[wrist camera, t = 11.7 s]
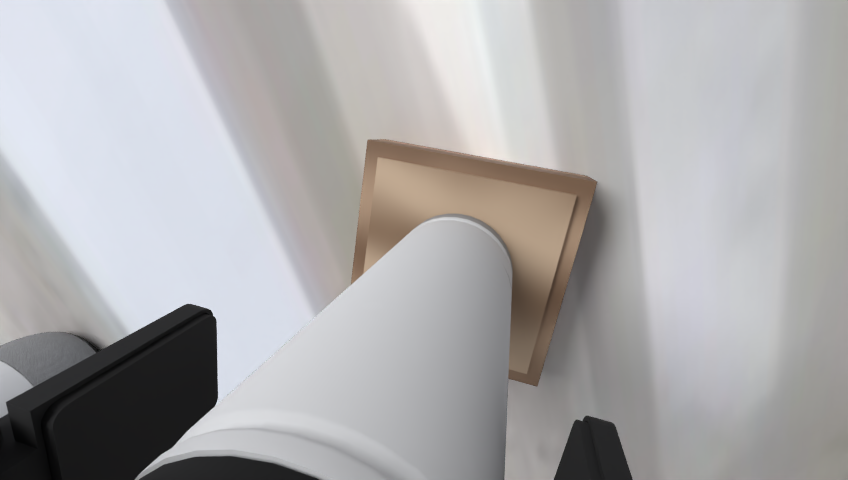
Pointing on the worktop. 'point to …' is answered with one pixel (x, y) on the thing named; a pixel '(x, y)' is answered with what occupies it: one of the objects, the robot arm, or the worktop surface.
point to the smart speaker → (37, 361)
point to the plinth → (494, 205)
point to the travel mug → (377, 376)
